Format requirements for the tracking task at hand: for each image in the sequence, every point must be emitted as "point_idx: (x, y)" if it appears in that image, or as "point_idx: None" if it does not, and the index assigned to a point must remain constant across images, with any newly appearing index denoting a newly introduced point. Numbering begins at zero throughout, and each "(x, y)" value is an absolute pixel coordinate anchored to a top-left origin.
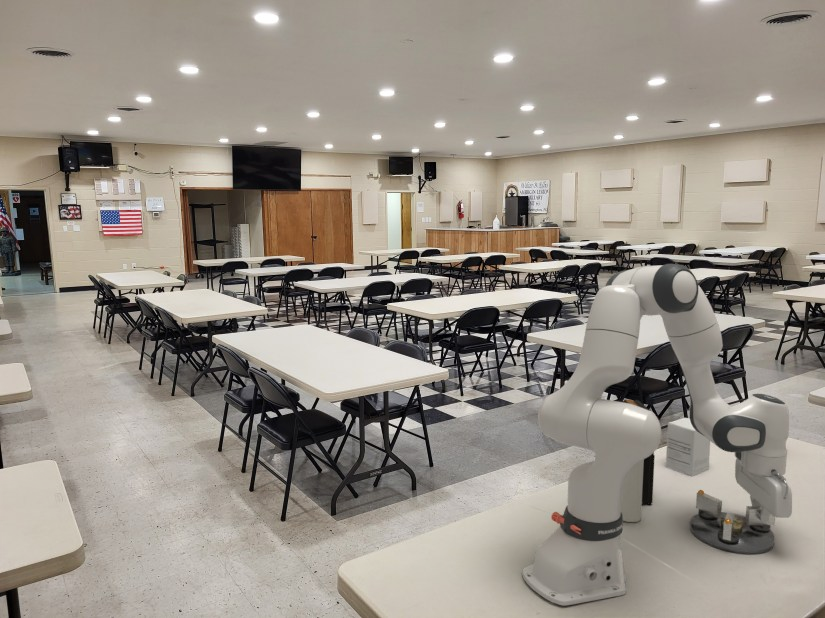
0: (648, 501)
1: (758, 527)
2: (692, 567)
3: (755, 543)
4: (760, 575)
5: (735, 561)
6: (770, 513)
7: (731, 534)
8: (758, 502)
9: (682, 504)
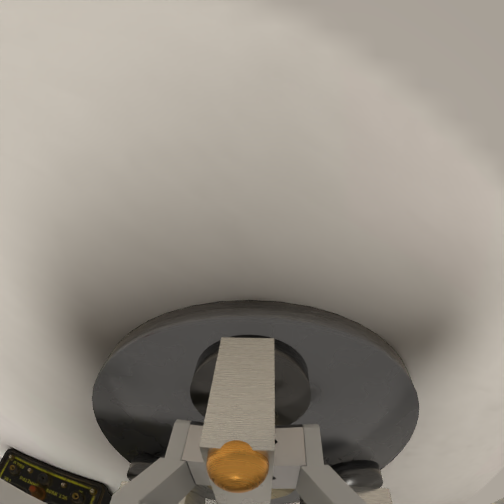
0: (105, 495)
1: (297, 418)
2: (409, 493)
3: (385, 420)
4: (492, 409)
5: (421, 446)
6: (344, 483)
7: (381, 501)
8: (160, 492)
9: (60, 436)
